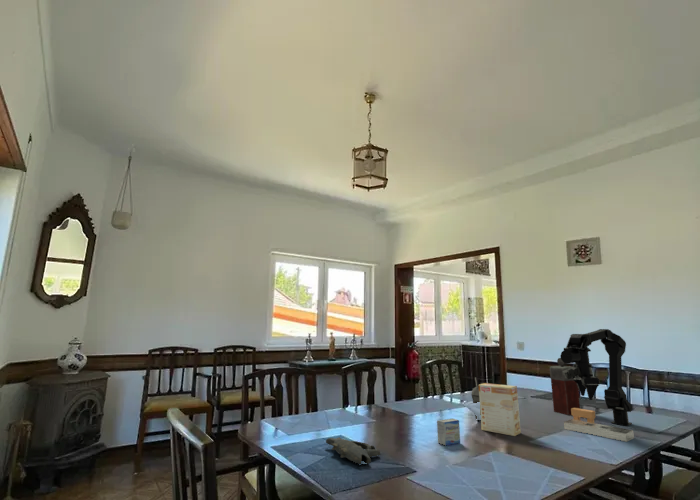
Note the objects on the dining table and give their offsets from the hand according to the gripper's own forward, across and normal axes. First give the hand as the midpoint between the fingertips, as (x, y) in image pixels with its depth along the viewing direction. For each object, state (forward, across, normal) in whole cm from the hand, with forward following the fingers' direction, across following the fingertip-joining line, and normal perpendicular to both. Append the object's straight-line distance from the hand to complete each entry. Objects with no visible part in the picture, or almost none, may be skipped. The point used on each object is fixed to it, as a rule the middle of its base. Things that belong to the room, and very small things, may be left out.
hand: (586, 397), depth 175 cm
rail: (+13, +7, 0) cm, 15 cm away
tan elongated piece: (+11, +53, -97) cm, 111 cm away
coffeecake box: (+13, +11, -40) cm, 43 cm away
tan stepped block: (+13, -8, 0) cm, 16 cm away
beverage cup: (+13, -9, -46) cm, 48 cm away
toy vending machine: (+14, -34, +2) cm, 36 cm away
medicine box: (+12, +33, -63) cm, 72 cm away
